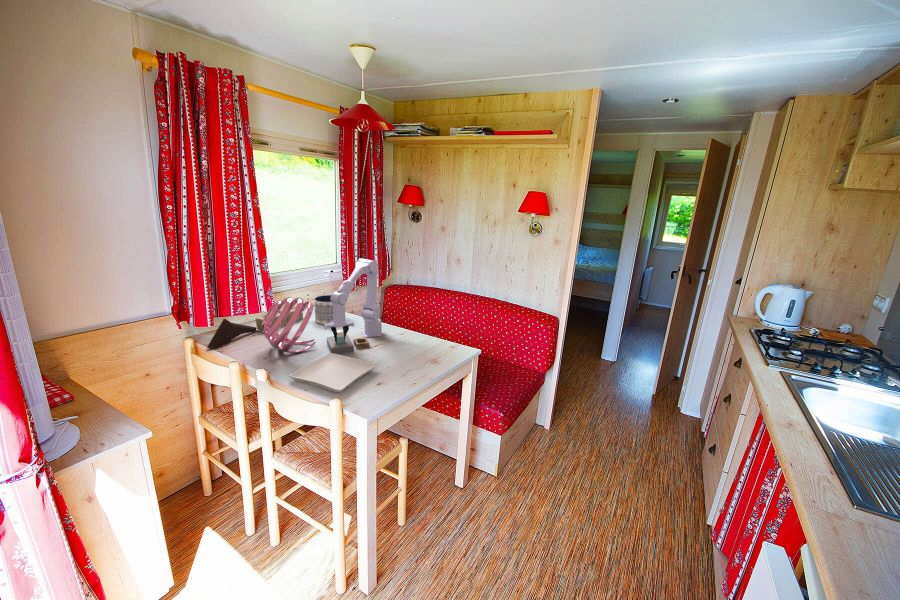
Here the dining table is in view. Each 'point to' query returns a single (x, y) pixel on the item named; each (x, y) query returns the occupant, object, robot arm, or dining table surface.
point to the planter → (323, 309)
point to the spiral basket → (275, 328)
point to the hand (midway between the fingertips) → (339, 340)
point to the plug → (340, 337)
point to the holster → (228, 333)
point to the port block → (340, 345)
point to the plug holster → (361, 343)
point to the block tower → (260, 319)
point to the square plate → (333, 372)
